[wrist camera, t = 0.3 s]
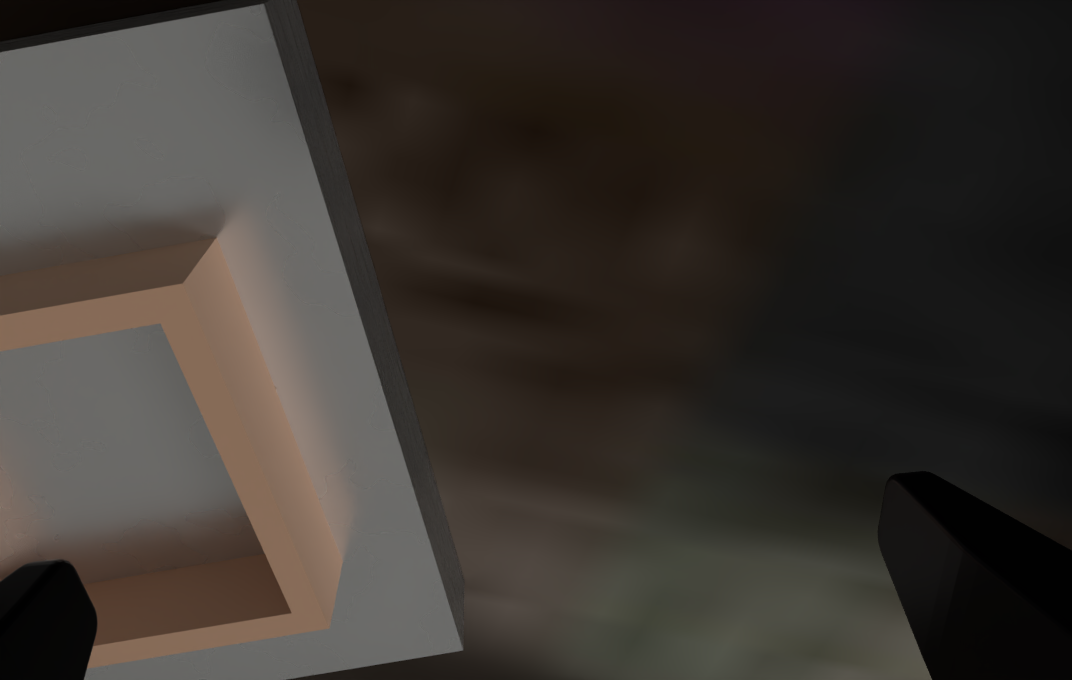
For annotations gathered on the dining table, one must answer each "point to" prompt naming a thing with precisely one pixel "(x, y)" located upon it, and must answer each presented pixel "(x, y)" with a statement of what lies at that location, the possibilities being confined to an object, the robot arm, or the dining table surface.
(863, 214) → the dining table surface
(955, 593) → the robot arm
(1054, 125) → the dining table surface
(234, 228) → the grey board with frame
